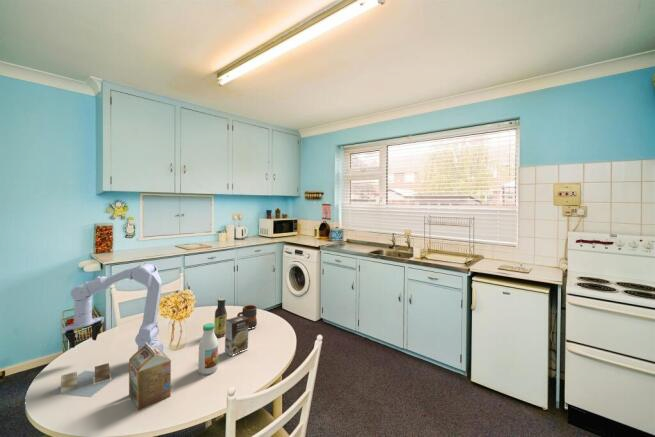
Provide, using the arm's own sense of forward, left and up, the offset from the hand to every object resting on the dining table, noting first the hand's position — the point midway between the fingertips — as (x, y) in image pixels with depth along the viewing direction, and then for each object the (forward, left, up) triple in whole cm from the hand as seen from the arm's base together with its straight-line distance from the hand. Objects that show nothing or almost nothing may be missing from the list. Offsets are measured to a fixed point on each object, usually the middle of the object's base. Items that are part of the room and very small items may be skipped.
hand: (83, 343), depth 126 cm
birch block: (-8, +15, -9) cm, 19 cm away
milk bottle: (-53, -4, -10) cm, 55 cm away
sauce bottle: (-44, -36, -10) cm, 58 cm away
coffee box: (-59, -21, -10) cm, 64 cm away
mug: (-55, -47, -10) cm, 73 cm away
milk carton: (-40, +15, -10) cm, 44 cm away
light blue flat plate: (-12, +11, -10) cm, 20 cm away
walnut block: (-15, +8, -9) cm, 20 cm away
